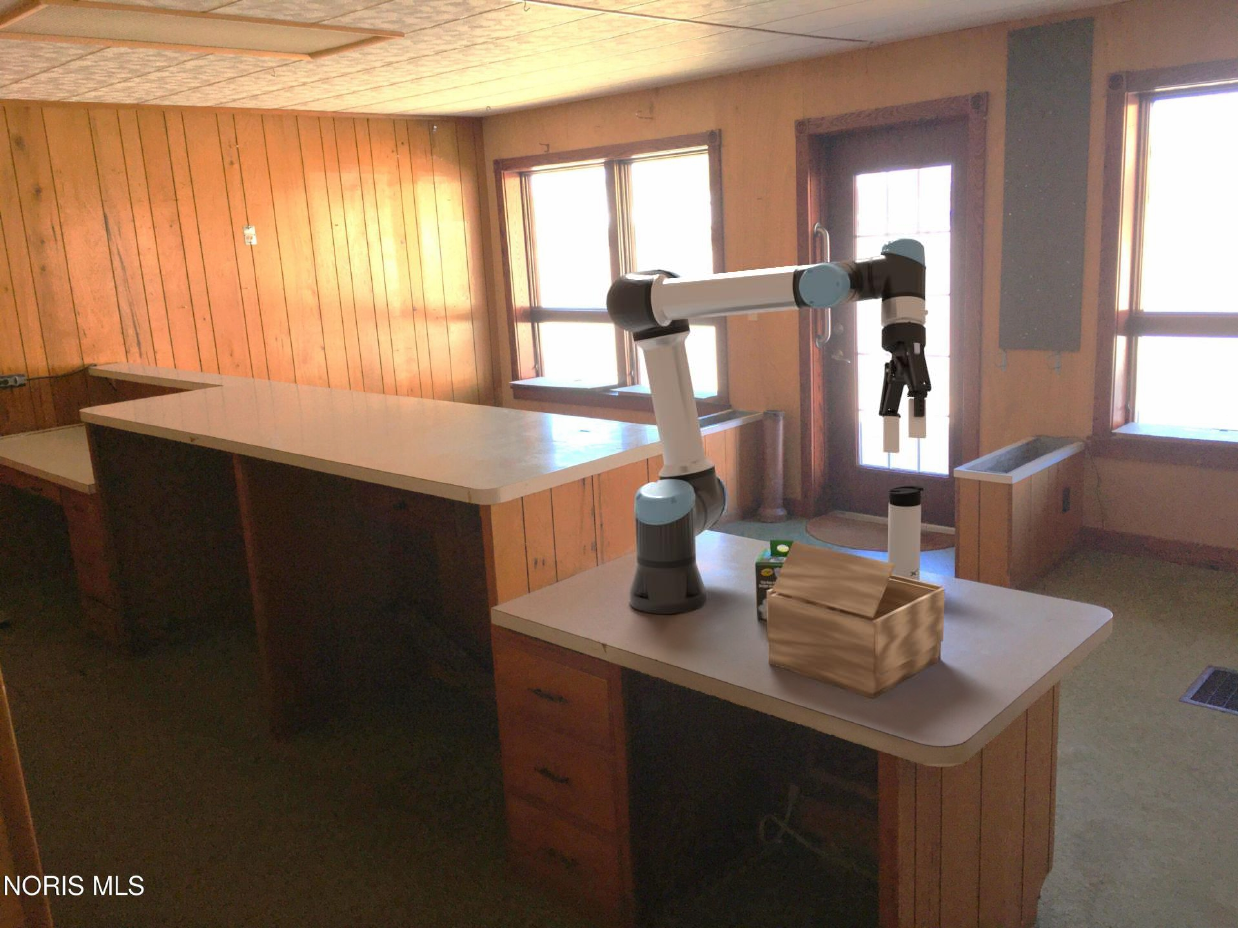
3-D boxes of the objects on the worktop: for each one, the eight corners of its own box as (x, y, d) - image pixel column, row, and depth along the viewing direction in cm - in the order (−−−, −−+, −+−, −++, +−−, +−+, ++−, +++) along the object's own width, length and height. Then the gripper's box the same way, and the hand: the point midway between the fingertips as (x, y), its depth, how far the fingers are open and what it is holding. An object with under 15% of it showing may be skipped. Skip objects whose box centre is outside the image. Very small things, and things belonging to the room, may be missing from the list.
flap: (871, 616, 150) (893, 563, 152) (772, 589, 163) (793, 541, 166) (873, 618, 150) (894, 565, 152) (773, 591, 164) (795, 542, 166)
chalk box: (812, 607, 191) (812, 532, 188) (805, 624, 183) (804, 546, 180) (764, 603, 194) (763, 530, 191) (755, 620, 186) (754, 543, 183)
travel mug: (922, 588, 199) (924, 490, 195) (888, 587, 200) (889, 490, 196) (919, 578, 205) (921, 483, 201) (886, 577, 206) (888, 483, 202)
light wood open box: (876, 699, 151) (877, 621, 149) (765, 662, 167) (765, 591, 164) (945, 658, 165) (947, 586, 162) (837, 627, 180) (838, 561, 178)
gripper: (951, 305, 163) (952, 431, 160) (901, 348, 188) (901, 458, 184) (906, 302, 163) (906, 429, 160) (861, 345, 188) (861, 456, 184)
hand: (903, 445), depth 172 cm, fingers open, 13 cm apart
